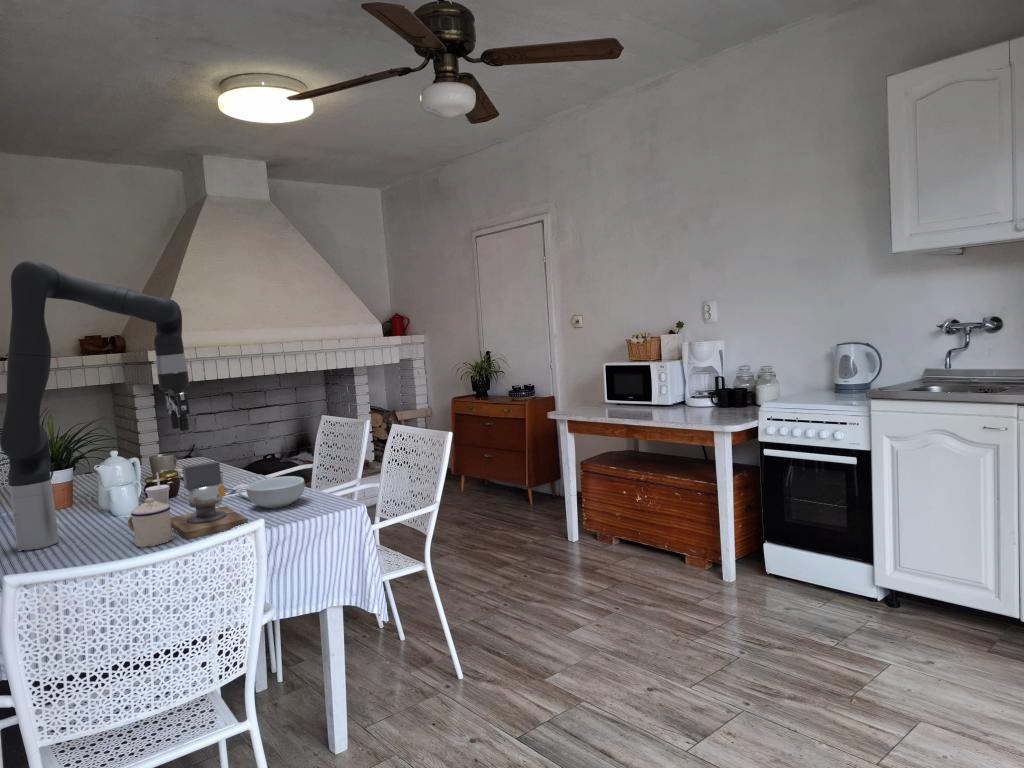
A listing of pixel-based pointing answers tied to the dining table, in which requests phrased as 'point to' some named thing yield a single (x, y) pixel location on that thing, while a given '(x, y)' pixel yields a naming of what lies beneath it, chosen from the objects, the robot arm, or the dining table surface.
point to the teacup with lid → (151, 523)
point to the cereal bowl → (276, 491)
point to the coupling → (203, 484)
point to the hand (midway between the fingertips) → (180, 429)
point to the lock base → (206, 521)
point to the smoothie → (158, 492)
